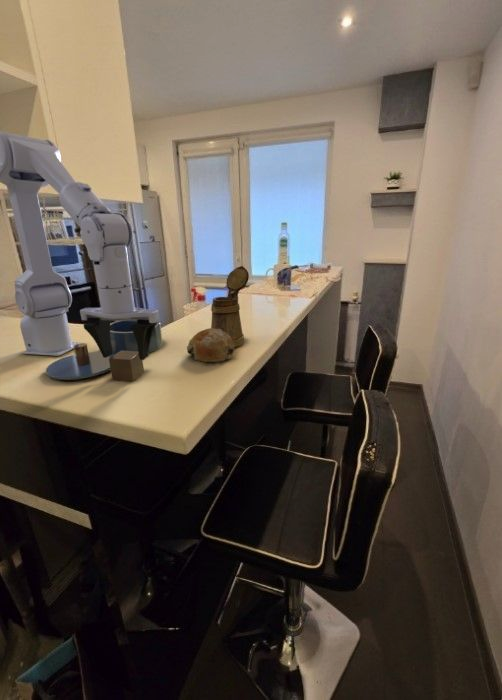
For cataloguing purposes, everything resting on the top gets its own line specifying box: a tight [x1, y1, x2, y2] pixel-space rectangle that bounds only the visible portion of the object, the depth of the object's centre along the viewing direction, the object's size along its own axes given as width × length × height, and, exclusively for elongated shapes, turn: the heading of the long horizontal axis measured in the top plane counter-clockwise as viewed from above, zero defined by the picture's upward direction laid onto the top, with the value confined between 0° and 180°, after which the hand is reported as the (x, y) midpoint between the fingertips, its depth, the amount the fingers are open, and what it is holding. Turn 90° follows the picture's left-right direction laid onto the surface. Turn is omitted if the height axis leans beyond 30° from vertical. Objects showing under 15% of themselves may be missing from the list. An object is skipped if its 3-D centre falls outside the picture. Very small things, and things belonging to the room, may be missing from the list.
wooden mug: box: [210, 265, 250, 348], centre depth 82 cm, size 9×14×18 cm, turn 153°
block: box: [109, 351, 145, 382], centre depth 64 cm, size 4×4×4 cm
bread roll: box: [186, 327, 235, 363], centre depth 73 cm, size 10×10×8 cm
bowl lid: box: [45, 342, 115, 381], centre depth 67 cm, size 14×14×5 cm
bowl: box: [110, 320, 163, 354], centre depth 79 cm, size 13×13×6 cm
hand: (125, 356), depth 63 cm, fingers open, 7 cm apart
